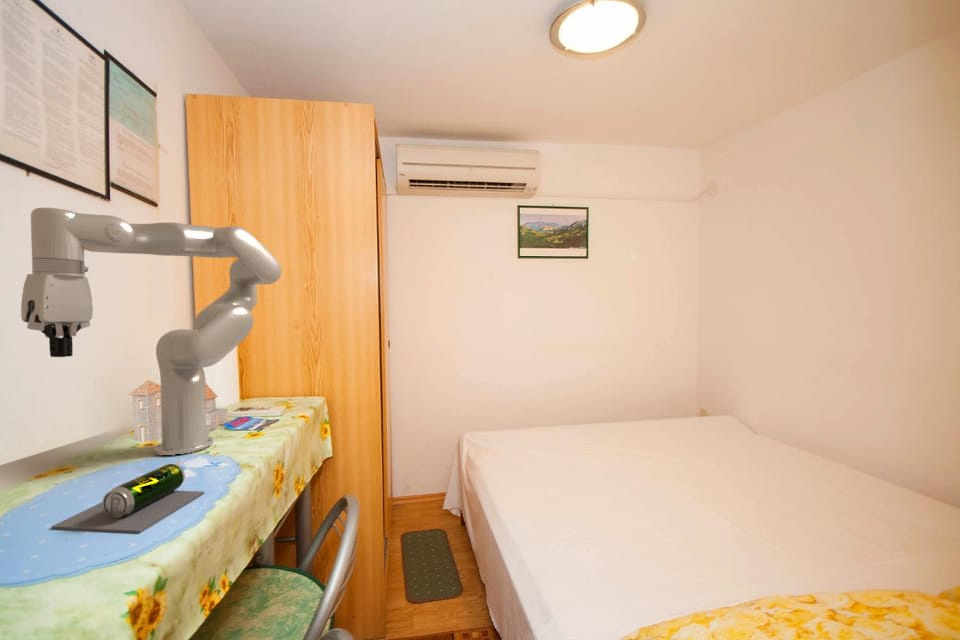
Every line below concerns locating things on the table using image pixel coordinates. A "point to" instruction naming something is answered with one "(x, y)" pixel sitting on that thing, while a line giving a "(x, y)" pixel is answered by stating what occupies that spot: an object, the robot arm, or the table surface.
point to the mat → (133, 522)
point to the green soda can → (142, 490)
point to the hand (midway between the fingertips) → (61, 356)
